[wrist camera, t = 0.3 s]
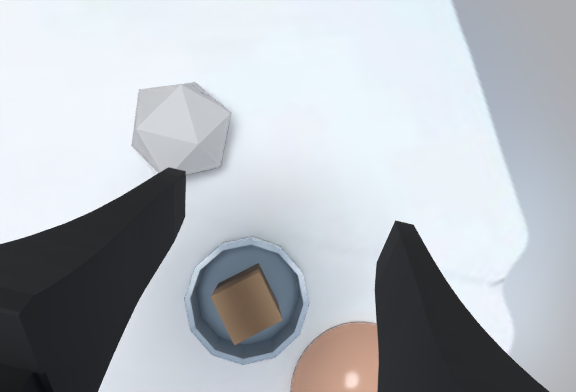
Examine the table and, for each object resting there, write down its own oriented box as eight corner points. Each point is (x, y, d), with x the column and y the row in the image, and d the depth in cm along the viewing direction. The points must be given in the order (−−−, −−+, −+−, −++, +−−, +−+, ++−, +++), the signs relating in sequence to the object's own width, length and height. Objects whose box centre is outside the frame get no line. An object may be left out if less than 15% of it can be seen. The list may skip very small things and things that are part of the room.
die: (241, 172, 43) (254, 94, 35) (168, 214, 37) (166, 133, 30) (190, 126, 45) (192, 45, 38) (116, 159, 40) (102, 73, 33)
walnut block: (238, 323, 41) (234, 345, 34) (218, 283, 41) (210, 296, 34) (278, 302, 41) (282, 320, 34) (258, 262, 41) (259, 272, 34)
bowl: (282, 360, 41) (285, 378, 37) (178, 327, 41) (169, 341, 36) (315, 257, 42) (322, 262, 38) (214, 224, 42) (209, 224, 37)
